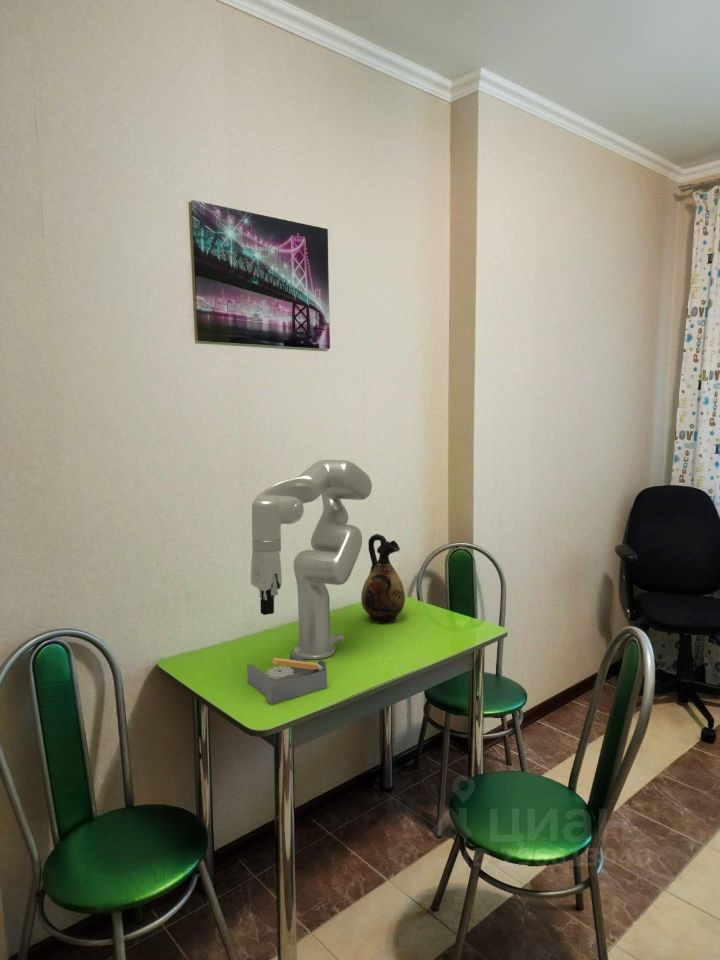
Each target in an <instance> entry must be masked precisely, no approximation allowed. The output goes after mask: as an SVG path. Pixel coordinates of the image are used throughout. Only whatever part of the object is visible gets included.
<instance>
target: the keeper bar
mask: <svg viewBox="0 0 720 960" xmlns="http://www.w3.org/2000/svg"><path fill="white" fill-rule="evenodd" d="M271 663H272V664H274V665H275V666H279V667H280V666H282V667H288V668H290V667H297V668H305V669H314V670H316V669H318V670H320V671H321V670H322V669H323V667H322V666H321V665H319V664H318V662H310V661H308V662H303V661H296V660H290V659H286V658H278V657H273V658H272V661H271Z"/></svg>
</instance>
